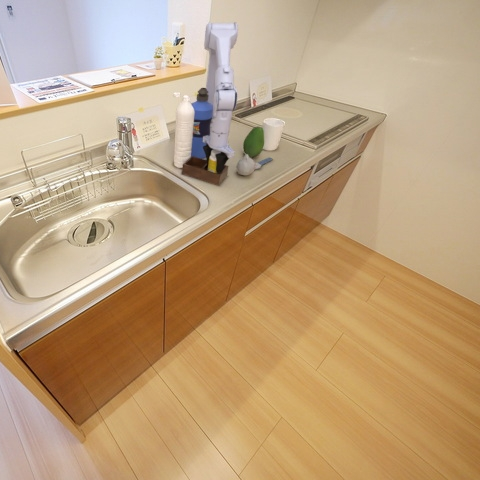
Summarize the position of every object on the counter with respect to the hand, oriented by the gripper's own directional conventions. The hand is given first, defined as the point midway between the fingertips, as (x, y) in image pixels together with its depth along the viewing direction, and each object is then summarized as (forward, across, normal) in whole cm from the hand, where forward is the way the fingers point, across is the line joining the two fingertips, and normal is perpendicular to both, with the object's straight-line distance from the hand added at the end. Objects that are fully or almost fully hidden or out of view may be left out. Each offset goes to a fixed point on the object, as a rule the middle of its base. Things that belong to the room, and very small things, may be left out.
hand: (214, 168), depth 98 cm
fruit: (+4, +6, -24) cm, 25 cm away
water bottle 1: (+4, +15, +5) cm, 16 cm away
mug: (+4, +9, -38) cm, 40 cm away
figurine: (+4, -4, -12) cm, 13 cm away
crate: (+4, +3, +2) cm, 5 cm away
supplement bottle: (+2, 0, 0) cm, 2 cm away
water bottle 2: (+4, +19, -6) cm, 20 cm away
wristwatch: (+4, -2, -19) cm, 20 cm away
